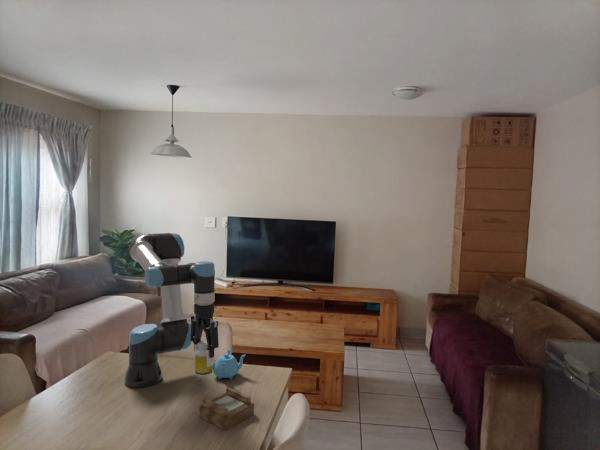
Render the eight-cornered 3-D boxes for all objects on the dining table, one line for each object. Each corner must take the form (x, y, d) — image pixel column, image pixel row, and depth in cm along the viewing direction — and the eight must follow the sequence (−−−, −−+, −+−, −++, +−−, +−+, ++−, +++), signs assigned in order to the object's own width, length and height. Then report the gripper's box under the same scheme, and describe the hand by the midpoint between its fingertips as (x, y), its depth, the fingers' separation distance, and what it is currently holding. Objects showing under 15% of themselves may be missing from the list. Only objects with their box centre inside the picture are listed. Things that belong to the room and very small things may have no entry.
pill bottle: (208, 377, 149) (208, 346, 149) (192, 375, 151) (192, 345, 150) (215, 370, 156) (215, 341, 155) (199, 368, 157) (200, 339, 156)
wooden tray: (199, 416, 148) (199, 399, 147) (228, 401, 159) (228, 385, 158) (225, 430, 139) (225, 412, 139) (253, 414, 150) (254, 397, 150)
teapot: (229, 367, 191) (229, 346, 190) (247, 376, 182) (247, 354, 181) (206, 375, 181) (206, 353, 181) (223, 385, 172) (223, 362, 172)
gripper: (180, 300, 155) (180, 359, 156) (213, 309, 143) (212, 373, 144) (196, 297, 161) (196, 354, 162) (229, 305, 149) (228, 366, 150)
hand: (203, 362), depth 153 cm, fingers closed on pill bottle, 6 cm apart
